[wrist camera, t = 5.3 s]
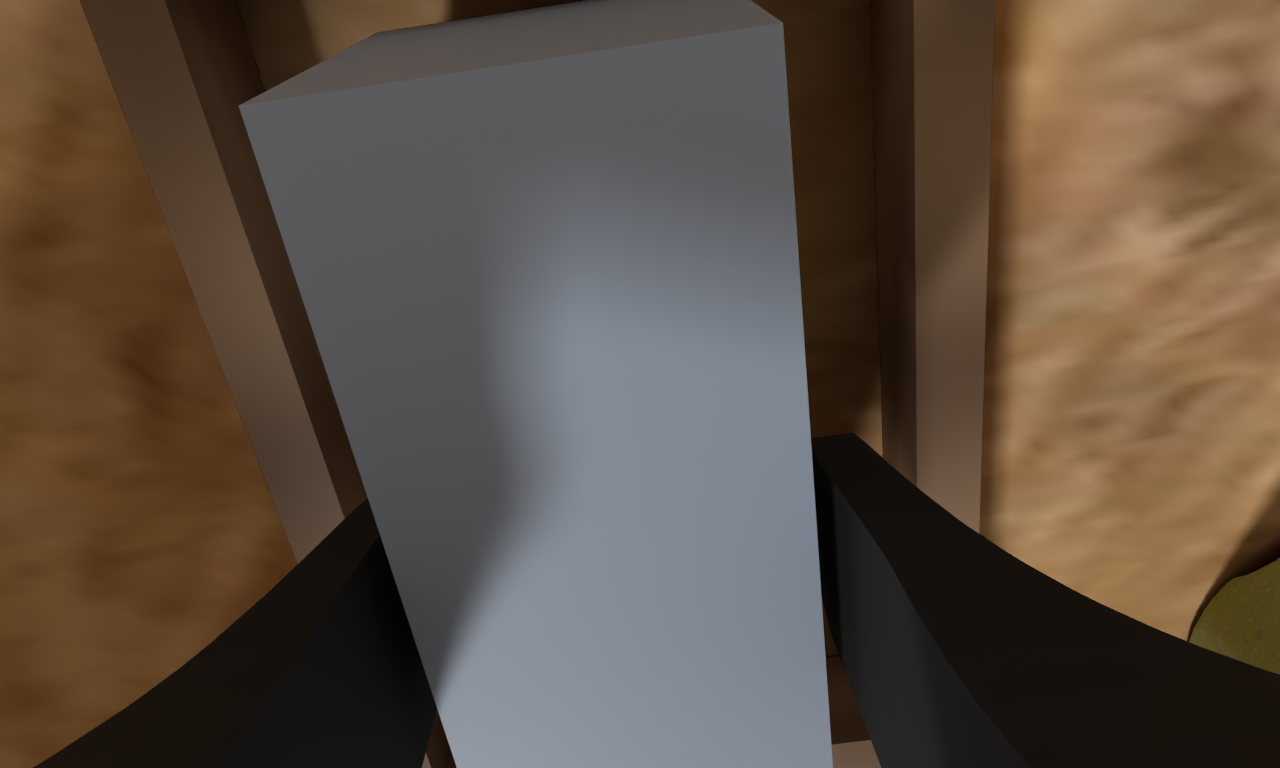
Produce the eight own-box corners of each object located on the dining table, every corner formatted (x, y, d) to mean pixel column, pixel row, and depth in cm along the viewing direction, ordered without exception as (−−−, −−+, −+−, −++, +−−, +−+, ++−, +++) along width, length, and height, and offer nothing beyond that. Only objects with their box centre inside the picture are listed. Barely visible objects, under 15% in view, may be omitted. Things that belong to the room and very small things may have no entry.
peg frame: (936, 679, 20) (972, 765, 18) (421, 741, 20) (400, 831, 18) (941, -216, 12) (1003, -239, 10) (135, -85, 13) (46, -83, 11)
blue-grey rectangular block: (786, 673, 17) (844, 937, 13) (547, 702, 18) (524, 972, 13) (721, -22, 12) (783, 22, 8) (376, 32, 12) (238, 105, 8)
